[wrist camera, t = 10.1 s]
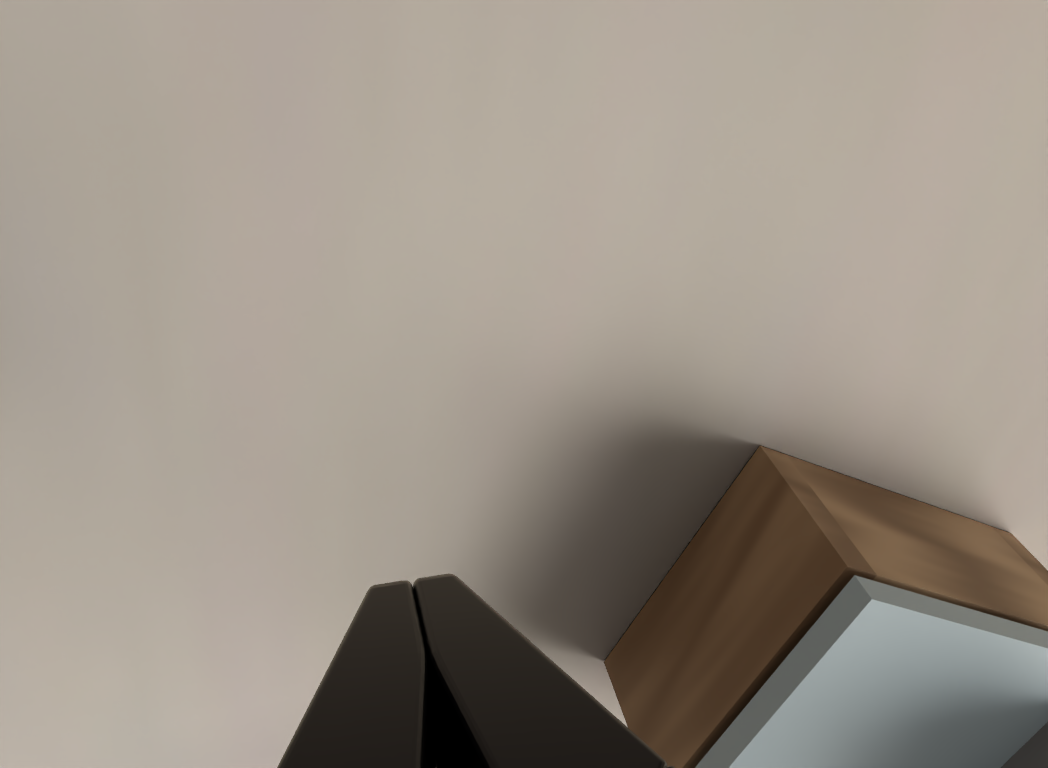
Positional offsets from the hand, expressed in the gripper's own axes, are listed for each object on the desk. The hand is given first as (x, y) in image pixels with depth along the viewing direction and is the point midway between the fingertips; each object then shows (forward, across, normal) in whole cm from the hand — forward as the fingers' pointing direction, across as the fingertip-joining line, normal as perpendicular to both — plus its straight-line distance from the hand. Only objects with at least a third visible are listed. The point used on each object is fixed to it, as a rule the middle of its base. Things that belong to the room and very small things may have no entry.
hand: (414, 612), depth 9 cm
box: (+13, +14, -16) cm, 24 cm away
